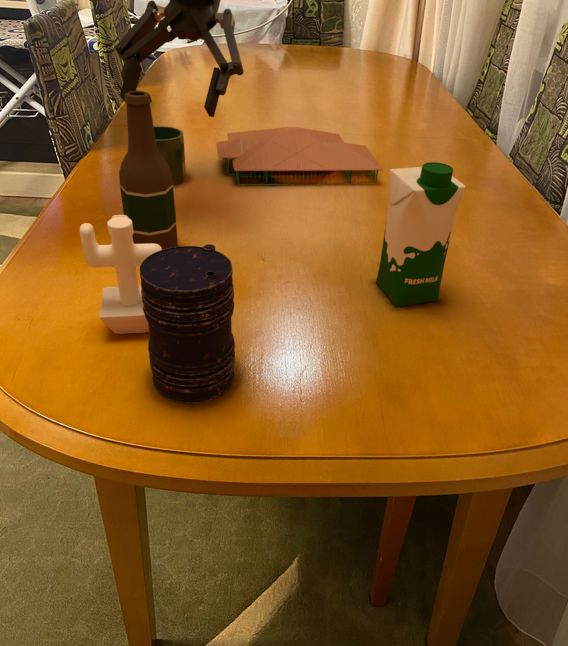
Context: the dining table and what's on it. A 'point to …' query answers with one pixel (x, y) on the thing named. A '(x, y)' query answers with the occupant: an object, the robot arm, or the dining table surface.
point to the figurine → (119, 274)
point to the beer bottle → (146, 178)
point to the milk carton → (418, 232)
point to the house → (295, 153)
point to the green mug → (172, 151)
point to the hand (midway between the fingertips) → (166, 106)
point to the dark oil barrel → (189, 322)
